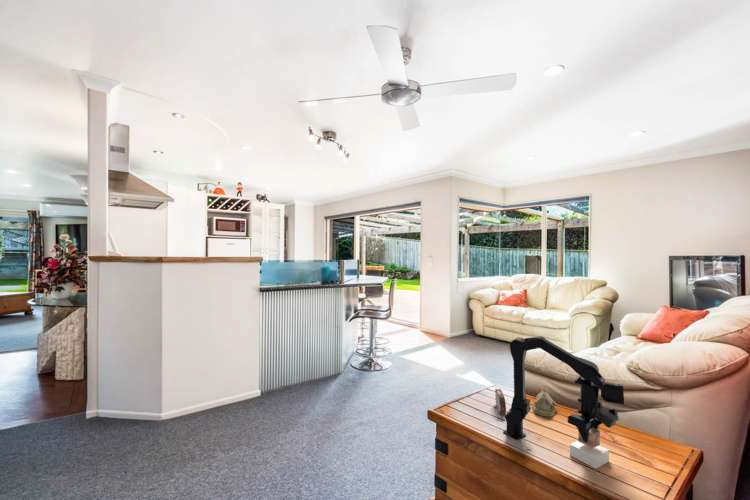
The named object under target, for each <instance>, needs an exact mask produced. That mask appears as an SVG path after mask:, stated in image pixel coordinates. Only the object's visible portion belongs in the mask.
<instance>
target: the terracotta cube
mask: <svg viewBox="0 0 750 500" xmlns="http://www.w3.org/2000/svg"><path fill="white" fill-rule="evenodd" d="M577 439H578V440H577V441H578V442H581V443H583V444H585V445H587V446H589V447H591V448H595V447H597V446H598V445H599V446H601V430H599V429H598V430H597V429H595V428H591V429H590V430H589V436H588V441H587V443H586V442H584V441H583V439H582V437H581V435H580V433H579V432H578V438H577Z"/></svg>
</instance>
